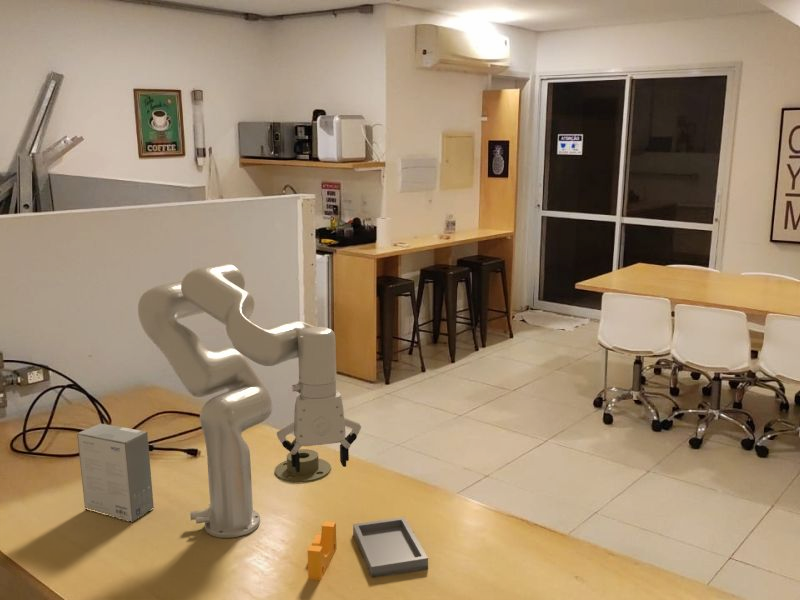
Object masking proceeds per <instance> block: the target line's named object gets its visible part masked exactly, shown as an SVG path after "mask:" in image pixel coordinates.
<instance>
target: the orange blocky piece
mask: <svg viewBox="0 0 800 600" xmlns="http://www.w3.org/2000/svg"><path fill="white" fill-rule="evenodd" d="M336 551H337V522H335V521H334V522H333V521H325V520H324V521H323V523H322V525H321V534H316V535H315V537H314V539H313V540H312V542H311V544H310V545H309V547H308V549H307V575H308V579H310V580H316V581H317V580H320V581H321V580H322V578H323V576H324V574H325V573H326V571H327V568H328V567H329V565H330V562H331V561H332V559H333V557H334V554H335V553H336Z"/></svg>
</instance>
